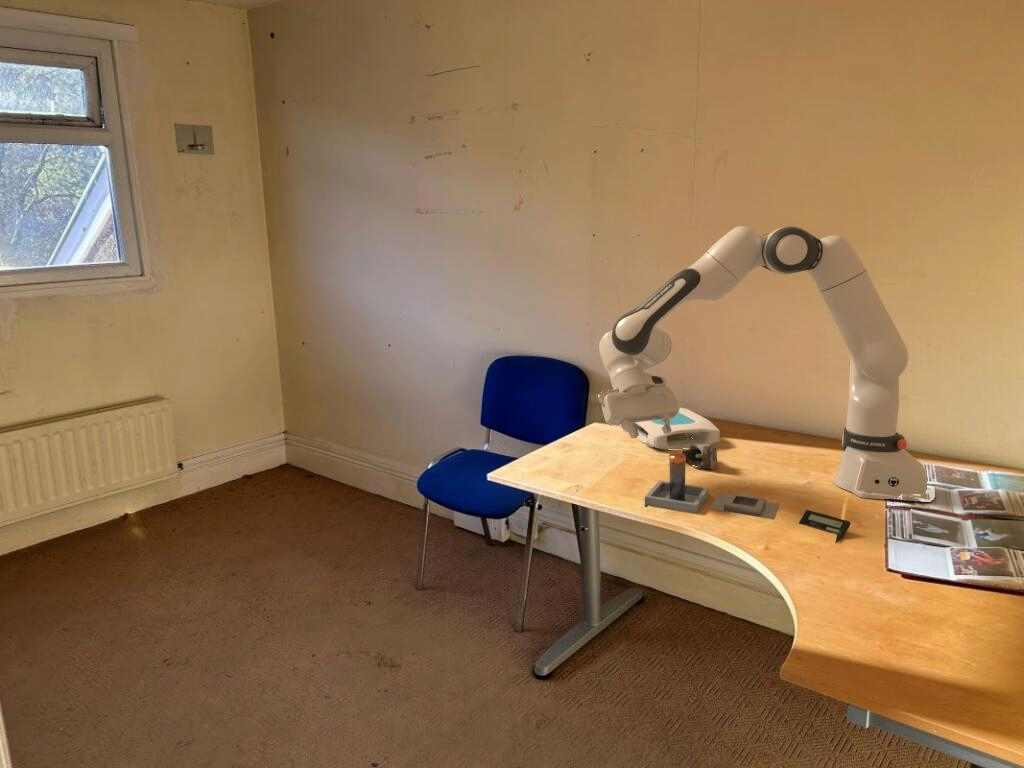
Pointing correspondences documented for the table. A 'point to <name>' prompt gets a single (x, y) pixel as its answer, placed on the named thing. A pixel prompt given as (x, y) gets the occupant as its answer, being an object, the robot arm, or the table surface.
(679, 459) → the pin
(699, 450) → the caster wheel
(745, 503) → the collar plate
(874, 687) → the table surface
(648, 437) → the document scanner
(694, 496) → the tray
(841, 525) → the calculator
